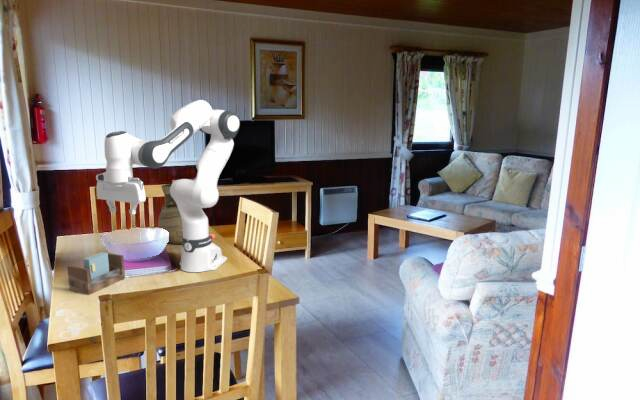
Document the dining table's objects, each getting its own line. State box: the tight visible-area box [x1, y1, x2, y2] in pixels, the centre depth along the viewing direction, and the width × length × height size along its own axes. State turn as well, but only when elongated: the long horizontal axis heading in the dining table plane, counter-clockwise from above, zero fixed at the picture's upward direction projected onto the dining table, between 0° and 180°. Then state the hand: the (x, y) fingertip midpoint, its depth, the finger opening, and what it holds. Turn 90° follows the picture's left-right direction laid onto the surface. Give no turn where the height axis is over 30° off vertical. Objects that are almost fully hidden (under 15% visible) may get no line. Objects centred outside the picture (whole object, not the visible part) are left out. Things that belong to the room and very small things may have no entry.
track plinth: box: [66, 251, 126, 296], centre depth 183 cm, size 18×10×10 cm, turn 158°
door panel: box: [82, 251, 109, 280], centre depth 182 cm, size 9×4×10 cm, turn 158°
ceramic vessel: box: [158, 183, 183, 245], centre depth 239 cm, size 19×21×30 cm
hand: (122, 212), depth 171 cm, fingers open, 8 cm apart
